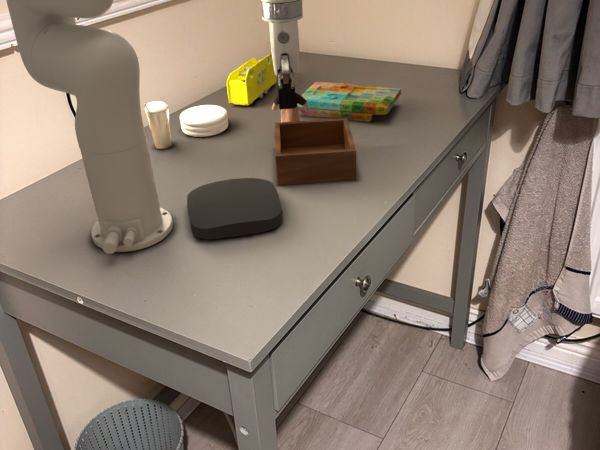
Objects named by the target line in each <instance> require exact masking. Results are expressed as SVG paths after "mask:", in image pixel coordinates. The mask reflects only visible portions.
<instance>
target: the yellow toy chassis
mask: <svg viewBox="0 0 600 450" xmlns="http://www.w3.org/2000/svg"><path fill="white" fill-rule="evenodd" d="M225 82H226V90H227V91H226V92H227V99H228V104H233V105H238V106H251V105H252V104H253V103H254V101H255V100H257V99H258V98H259V99H263V97H264V94H266V95H267V94H268V91H269V90H270V89H271V87H273V85H275V84H276V83H278V78H277V75H275V72H274V66H273V60H272V53H269V54H267V55H266V56H264V57H263V58H261V59H258V60H257V59H256V58H255V57H251V58H250V59H249V60H247V61H246V62H244V63H243V64H241V65H240V66H239V67H237V68H236V69H235V70H233V71H232V72H230V73H229V74H228V77H227V80H226V81H225Z"/></svg>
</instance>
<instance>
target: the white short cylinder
mask: <svg viewBox="0 0 600 450" xmlns="http://www.w3.org/2000/svg"><path fill="white" fill-rule="evenodd" d="M228 120H229V117H228V111H227V109H226V108H224V107H223V106H220V105H217V104H202V105H196V106H191V107H189V108H187V109H184V110H183V111H182V112H181V113H180V114H179V121H180V128H181V131H182V133H183V134H185V135H186V136H189V137H194V138H204V137H205V138H206V137H213V136H217V135H219V134H221V133H223V132H224V131H226V130H227V129H228V127H229V121H228Z"/></svg>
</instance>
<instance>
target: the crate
mask: <svg viewBox="0 0 600 450" xmlns="http://www.w3.org/2000/svg"><path fill="white" fill-rule="evenodd" d="M274 148H275V149H274V152H275V153H274V154H275V156H274V157H275V167H276V179H277V180H276V181H277V185H278V186H283V185H299V184H301V185H302V184H315V183H328V182H329V183H331V182H345V181H356V180H357V148H356V145H355V141H354V138H353V134H352V131H351V127H350V123H349V120H348V119H347V118H340V119H336V118H327V119H311V120H300V121H296V122H281V121H280V122H275V123H274Z"/></svg>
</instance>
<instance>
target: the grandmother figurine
mask: <svg viewBox="0 0 600 450" xmlns="http://www.w3.org/2000/svg"><path fill="white" fill-rule="evenodd" d="M281 78H283V77H281ZM293 82H294V87H295V88H297V86H298V85H299V83H298V81H297V79H296V78H295V76H294V77H293ZM301 95H302V94H299V93H298V92H295V96H296V108H295V109H280V123H281V122H296V121H301V120H300V110H299V109H298V106H297V103H298V104H300V105H302V106H303V107H304V109H305V111H309V110H310V108H309V107H308V104H307V100H306V99H304V98H303V97H302V96H301ZM278 108H279V98H278V95H277V96H276V97H275V98H274V100H273V104H272V106H271V110H272V111H274V112H275V111H277V109H278Z"/></svg>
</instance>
